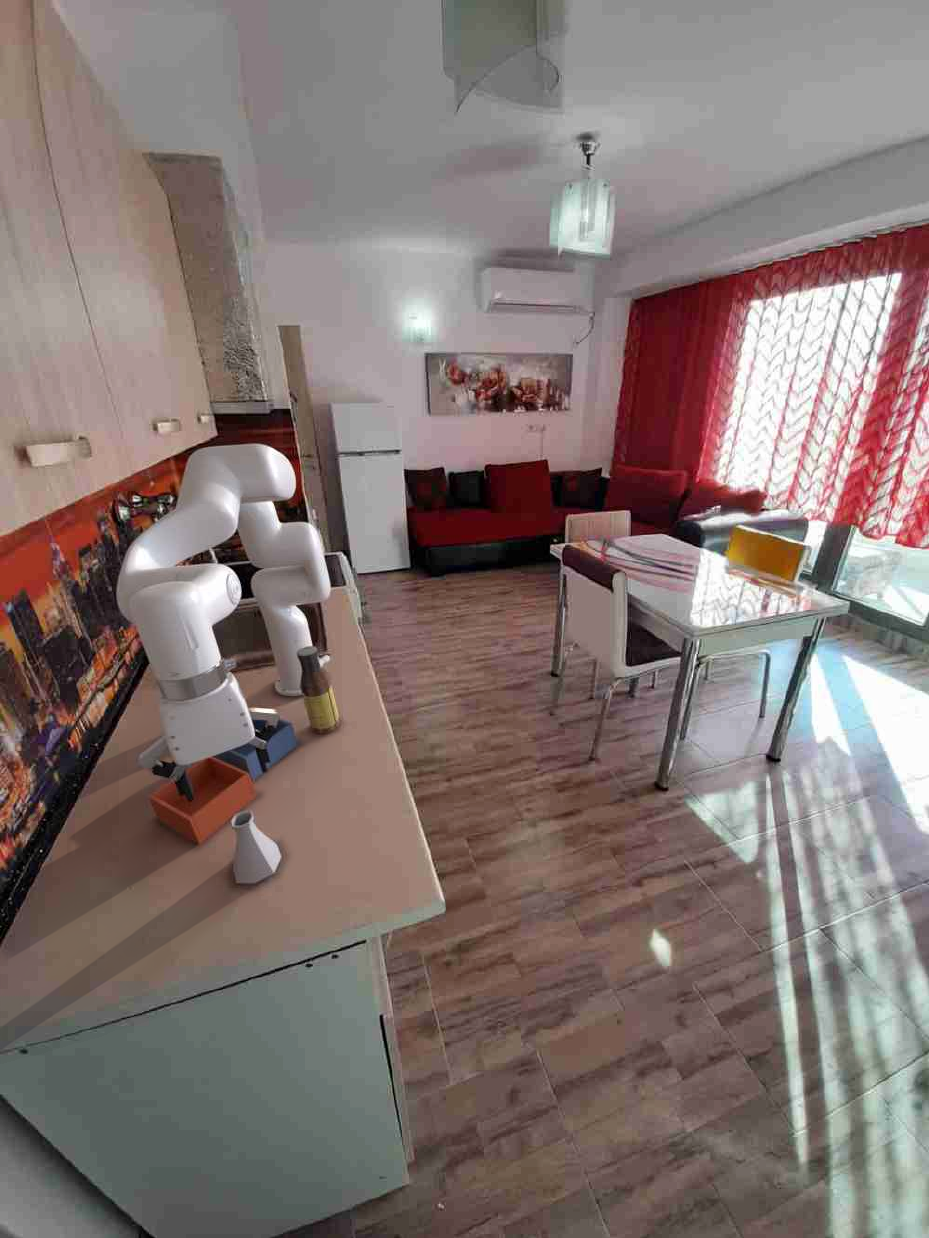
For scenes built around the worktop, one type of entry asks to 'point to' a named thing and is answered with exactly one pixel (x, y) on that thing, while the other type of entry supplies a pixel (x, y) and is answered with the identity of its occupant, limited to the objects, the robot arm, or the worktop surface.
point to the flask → (252, 850)
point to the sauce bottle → (317, 692)
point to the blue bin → (276, 748)
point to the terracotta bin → (204, 799)
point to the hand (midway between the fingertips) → (228, 780)
